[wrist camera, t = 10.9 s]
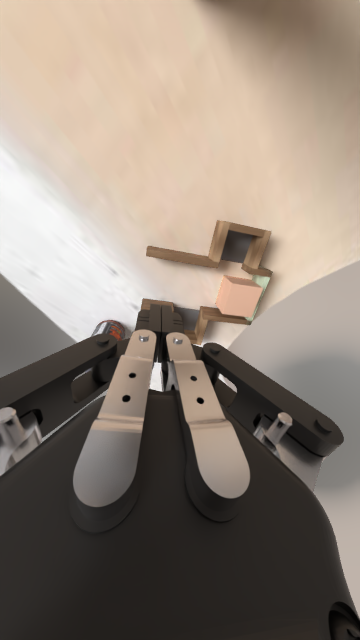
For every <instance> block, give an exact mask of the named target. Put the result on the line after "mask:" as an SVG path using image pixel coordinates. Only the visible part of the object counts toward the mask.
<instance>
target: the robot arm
mask: <svg viewBox="0 0 360 640" xmlns="http://www.w3.org/2000/svg"><path fill="white" fill-rule="evenodd" d="M157 355H158V363H161V372H160V374H161V383H162V392H160V391H156V390H152V389H149V388H150V381H151V374H152V369H153V367H154V362H157ZM90 368H91V370H90V371H88V372H87V373H85V374H83V375H82V376H80V377H78V378H77V379H75V377H77V376H78V375H80V374H82V373H83V372H85V371H87V370H88V369H90ZM219 374H222V375H223V376H224V377H226V378H227V379H228V380H229V381H231V382H232V383H233V384H234V385H235V386H236V388H237V393H236V392H235V391H233V390H232V389H231V388H230V387H228V386H227V385H226V384H225V383H223V382H222V381H221V380H220V379H219V378H218V377H219ZM74 379H75V380H74ZM73 380H74V381H73ZM108 388H109V389H108ZM107 389H108V391H107V394H106V395H105V396H103V397H101V398H99V399H97V400H95V401H94V402H92V403H91V404H89V405H88V406H87V407H86V408H85V409H83V410H82V411H81V412H79V413H78V414H77V415H76V416H74V417H73V418H72V419H71V420H70V421H68V422H67V423H66V424H65V425H63V426H62V427H61V428H59V429H58V430H57V431H56V432H55V433H53V434H52V435H51V436H50V437H48V438H47V439H46V440H45V441H43V442H42V438H43V437H44V436H46V435H47V434H48V433H50V432H51V431H52V430H54V429H55V428H56V427H58V426H59V425H60V424H62V423H63V422H64V421H66V420H67V419H68V418H70V417H71V416H72V415H74V414H75V413H76V412H78V411H79V410H80V409H82V408H83V407H84V406H86V405H87V404H88V403H90V402H91V401H92V400H94V399H95V398H96V397H98V396H99V395H100V394H102V393H103V392H104V391H106V390H107ZM343 441H344V437H343V434H342V432H341V430H340V429H339V427H338V426H337V425H336V424H335V423H334V422H333V421H332V420H331V419H330V418H328V417H327V416H325V415H324V414H322V413H321V412H319V411H318V410H316V409H315V408H313V407H312V406H310V405H309V404H308V403H306V402H305V401H303V400H302V399H300V398H299V397H297V396H296V395H294V394H293V393H291V392H290V391H288V390H286V389H285V388H284V387H282V386H281V385H279V384H278V383H276V382H275V381H273V380H272V379H270V378H269V377H267V376H266V375H264V374H263V373H261V372H260V371H258V370H257V369H255V368H254V367H252V366H251V365H249V364H248V363H246V362H245V361H243V360H242V359H240V358H239V357H237V356H236V355H234V354H233V353H231V352H230V351H228V350H227V349H225V348H224V347H222V346H221V345H219V344H216V343H206V344H204V346H203V348H202V347H199V346H196V345H193V344H191V343H190V340H189V338H188V337H187V336H186V335H185V332H184V328H183V323H182V318H181V316H180V315H179V314H178V313H174V312H172V307H171V306H170V305H161V304H152V303H150V310H146V309H142V310H141V311H140V312H139V313H138V318H137V323H136V328H135V332H133V333H132V336H131V337H130V338H128V339H125V340H119V341H117V339H116V337H115V336H113V335H111V334H106V333H102V334H97V335H94V336H92V337H90V338H87V339H85V340H83V341H81V342H79V343H76V344H74V345H72V346H70V347H68V348H65V349H63V350H61V351H59V352H57V353H54V354H52V355H50V356H48V357H46V358H43V359H41V360H39V361H37V362H35V363H32V364H30V365H28V366H26V367H24V368H22V369H19V370H17V371H15V372H13V373H10V374H8V375H6V376H4V377H2V378H0V640H360V618H359V616H358V614H357V611H356V609H355V606H354V603H353V601H352V598H351V595H350V592H349V589H348V586H347V583H346V580H345V577H344V573H343V569H342V566H341V562H340V557H339V552H338V547H337V542H336V538H335V535H334V532H333V528H332V526H331V523H330V521H329V519H328V517H327V515H326V513H325V511H324V509H323V507H322V505H321V504H320V502H319V501H318V499H317V498H316V496H315V495H314V493H313V491H314V488H315V484H316V481H317V477H318V474H319V470H320V467H321V463H322V461H323V460H324V459H325V458H326V457H327V456H329V455H330V454H331V453H332V452H333V451H334V450H335V449H336V448H337V447H339V445H341V444H342V443H343ZM41 442H42V443H41Z"/></svg>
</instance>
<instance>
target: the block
mask: <svg viewBox="0 0 360 640" xmlns="http://www.w3.org/2000/svg"><path fill="white" fill-rule="evenodd" d="M262 290H263V288H262V287H261V286H259V285H258V284H257V283H255V282H254V281H252V280H249V279H242V278H236V277H230V276H223V279H222V282H221V286H220V289H219V293H218V296H217V299H216V303H215V304H216V305H217V307H218V308H219V310H220V311H221V313H222V314H227V315H235V316H243V317H252V315H253V312H254V310H255V307H256V305H257V302H258V300H259V298H260V295H261V293H262Z"/></svg>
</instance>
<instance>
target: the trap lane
mask: <svg viewBox="0 0 360 640" xmlns="http://www.w3.org/2000/svg"><path fill="white" fill-rule="evenodd" d="M270 234H271V231H267V230H262V229H257V228H253V227H248V226H244V225H239V224H235V223H230V222H226V221H217V223H216V227H215V231H214V235H213V239H212V243H211V247H210V251H209V255H208V257H207V256H201V255H196V254H190V253H185V252H180V251H174V250H169V249H163V248H158V247H152V246H148V247H147V252H146V256H149V257H155V258H161V259H166V260H172V261H178V262H184V263H190V264H195V265H201V266H207V267H213V268H218V265H219V262H220V259H222V260H228V261H233V262H239V263H243V265H242V269H243V270H245V271H246V272H248V273H249V274H253V275H254V276H253V278H252V281H254V282H255V283H257V284H258V285H259V286H261V287H262V288H263V290H262V293H261V295H260V298H259V300H258V302H257V305H256V307H255V310H254V312H253V315H252V317H243V316H235V315H227V314H222V313H221V311H220V310H219V309H218V308H210V307H203V306H201V307H200V310H192V309H185V308H177V307H173V302H165V301H158V300H150V299H143V300H142V305H141V310H142V309H146V310H150V303H152V304H161V305H170V306H171V307H172V312H174V313H178V314H179V315H180V316H181V318H182V323H183V328H184V332H185V335H186V336H187V337H188V338H189V340H190V343H191V344H198V345H201V343H202V340H203V336H204V333H205V329H206V326H207V323H208V320H211V321H220V322H228V323H236V324H245V325H251V322H252V320H253V318H254V315H255V313H256V311H257V308H258V306H259V303H260V301H261V299H262V296H263V294H264V292H265V289H266V287H267V284H268V282H269V280H270V277H271V275H272V273H273V272H272V271H270V270H268V269H266V268H264V267H262V266H259V263H260V261H261V258H262V255H263V253H264V250H265V248H266V245H267V242H268V240H269V237H270Z"/></svg>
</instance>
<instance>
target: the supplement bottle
mask: <svg viewBox="0 0 360 640" xmlns="http://www.w3.org/2000/svg"><path fill="white" fill-rule="evenodd" d="M102 333H106V334H111V335H113V336H115V337H116V339H117V341H119V340H123V339H124V334H125V333H124V329H123V327H122V326H121V325H120V324H119V323H117V322H115V321H112V320H107V321H103V322H101V323H100V324H98V326H97V327H96V329H95V331H94V332H93V334H92V336H94V335H97V334H102ZM92 336H91V337H92ZM90 370H91V368H90V369H88V370H87V371H85V372H86V373H87V372H88V371H90Z"/></svg>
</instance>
